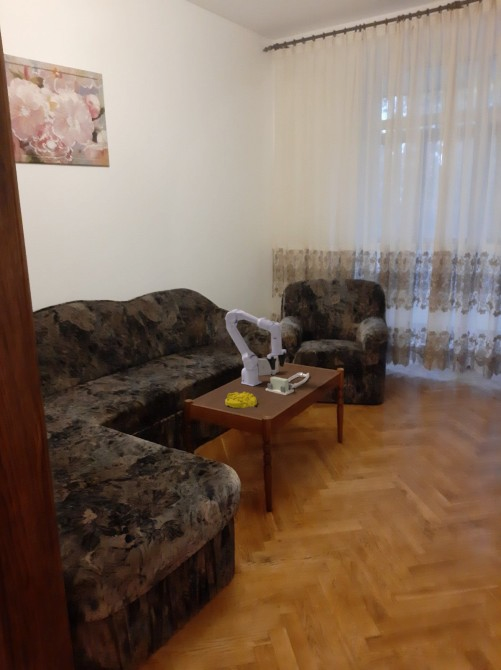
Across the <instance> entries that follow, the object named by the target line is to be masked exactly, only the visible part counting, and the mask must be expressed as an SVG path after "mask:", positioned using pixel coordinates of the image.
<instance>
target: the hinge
mask: <svg viewBox="0 0 501 670" xmlns="http://www.w3.org/2000/svg"><path fill="white" fill-rule="evenodd" d="M274 358H276V363H275V370H271V367H270V364H269V362H268V360H267V357H261V358H259V357H258V359H259V363H258V364H257V366H258V377H260V376H272V375H276V373H279V358H278V356H275V357H274ZM271 374H272V375H271Z"/></svg>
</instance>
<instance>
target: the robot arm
mask: <svg viewBox="0 0 501 670" xmlns="http://www.w3.org/2000/svg"><path fill="white" fill-rule="evenodd" d="M224 320H225V327H226V330H227V332H228V334H229V335H230V338H231V339H232V341H233V343H234V344H235V347H236V348H237V350H238V351H239V352H240V354H241V360H242V362H243V368H242V370H241V382H240V384H242V385H246V386H251V387H254V386H256V385H259V384H262V383H263V381H261V380H259V375H258V366H257V364H258V363H259V359H258V358H259V357H258V356H257V355H256V354H255V353H254V352H253V351H252V350H250V348H249V346H248V345H247V343H246V341H245V339H244V338H243V336H242V335H241V333H240V331H239V329H238V327H237V326H238V322H239V321H243V320H244V321H247V322H249V323H253V324H255V325H257V327H258V328H260V329H262V330H265V331H267V332H269V333H270V341H271V344H270V345H271V346H270V347H271V352H269V354H267V355H266V358H267V360H268V362H269V364H270V367H271V370H276V369H275V363H276V358H274V357H275V356H278V366H279V367H282V368H283V367H284V366H285V361H286V359H287V357H288V353H287V349H283V347H282V345H283V344H282V329H283V326H282V324H281V323H280V322H278V321H276V322H275V321H274V320H272V321H271V320H270V319H267V317H266V316H265V317H260V318H259V317H257V316H254V315H253V314H251V313H248V312H246V311H244V310H242V309H239V308H234V309H232V310H230V311H228V312H227V313H226V314H225V317H224Z"/></svg>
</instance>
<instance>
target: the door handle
mask: <svg viewBox="0 0 501 670" xmlns="http://www.w3.org/2000/svg"><path fill="white" fill-rule="evenodd" d="M300 377H301V378H304V379H302V380H301V381H299V382H293V383H290V382H291V381H292V380H294V379H297V378H300ZM309 378H310V373H309V372H307V373H303V371H302V372H297V373H296V374H294V375H291V376H290V377H288V378H287V379H288V384H291V389H293V390H294V389H296V388H298V387H300V386H302V385H303V384H304V383H306V381H308V379H309Z"/></svg>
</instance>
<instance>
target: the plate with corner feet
mask: <svg viewBox="0 0 501 670" xmlns="http://www.w3.org/2000/svg"><path fill="white" fill-rule="evenodd" d="M291 384H292V383H290V384H288V386H289V390H288V391H286V392H285V387H283V386H281V391H280V390H276V389H272V384H271V383H269V382H268V383H267V387H266V388H265V391H266V392H271V393H274V394H278V395H284V396H287V395H289V394H292V393H294V392H295V391H294V388H293V389H291Z"/></svg>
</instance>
